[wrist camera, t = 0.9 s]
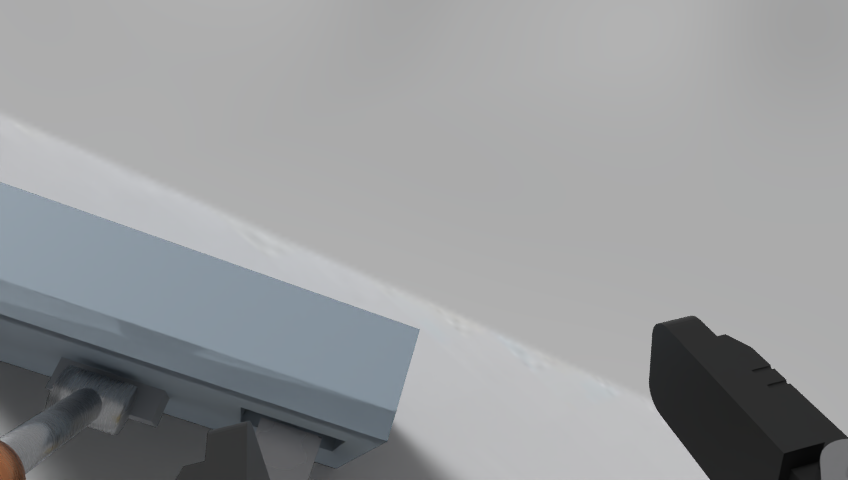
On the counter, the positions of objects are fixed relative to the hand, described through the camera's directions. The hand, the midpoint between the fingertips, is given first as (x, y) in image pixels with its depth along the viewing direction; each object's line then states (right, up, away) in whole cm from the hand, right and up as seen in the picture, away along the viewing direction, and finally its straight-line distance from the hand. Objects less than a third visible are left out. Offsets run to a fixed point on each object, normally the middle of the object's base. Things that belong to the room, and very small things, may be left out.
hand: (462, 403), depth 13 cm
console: (-14, -3, +20) cm, 25 cm away
